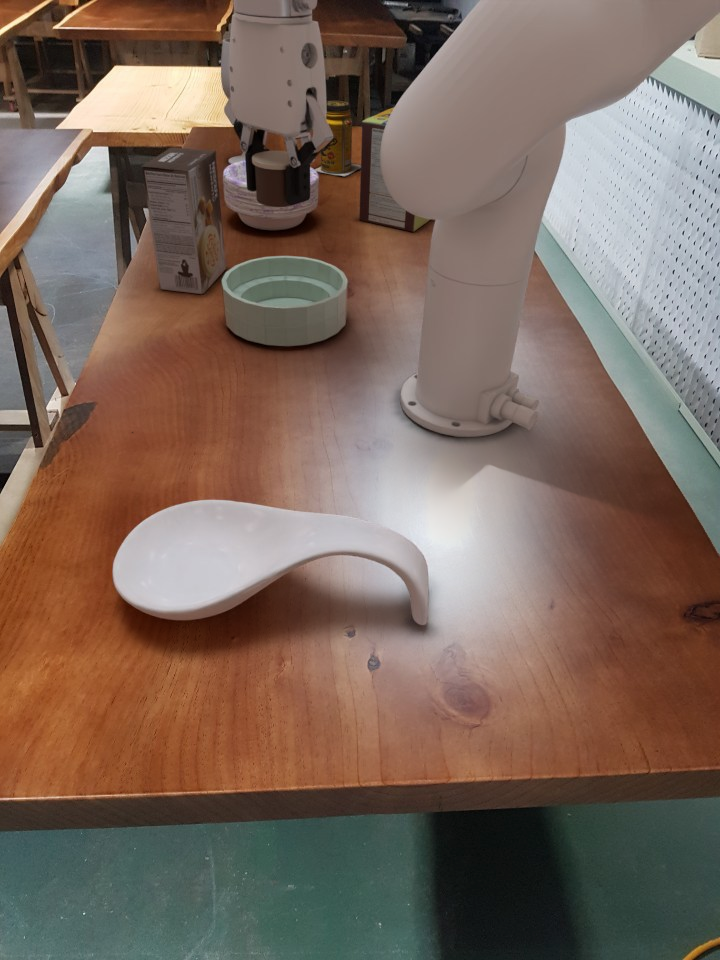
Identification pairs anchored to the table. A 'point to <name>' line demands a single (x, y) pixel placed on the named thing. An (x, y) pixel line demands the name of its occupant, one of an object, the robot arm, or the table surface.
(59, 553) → the table surface
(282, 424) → the table surface
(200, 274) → the coffee box
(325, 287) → the bowl
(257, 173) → the coffee pod
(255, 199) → the paper bowls
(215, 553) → the spoon rest
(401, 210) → the protein box
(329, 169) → the condiment
